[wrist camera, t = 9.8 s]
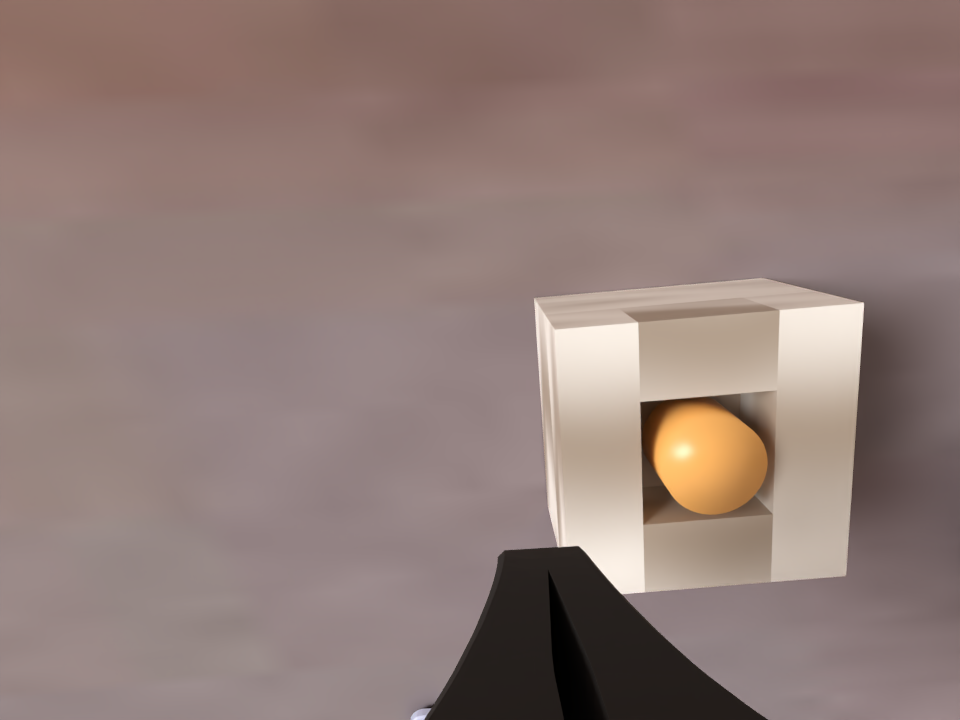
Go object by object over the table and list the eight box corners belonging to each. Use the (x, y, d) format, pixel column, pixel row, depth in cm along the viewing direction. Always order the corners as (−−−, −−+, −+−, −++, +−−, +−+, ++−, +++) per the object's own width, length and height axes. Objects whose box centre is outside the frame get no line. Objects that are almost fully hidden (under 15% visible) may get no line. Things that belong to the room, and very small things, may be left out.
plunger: (731, 474, 16) (766, 510, 14) (642, 481, 16) (665, 518, 15) (733, 389, 16) (769, 414, 14) (640, 397, 16) (663, 423, 14)
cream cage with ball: (766, 487, 20) (857, 575, 15) (547, 505, 20) (570, 598, 16) (772, 277, 19) (877, 301, 14) (534, 298, 19) (554, 329, 14)
